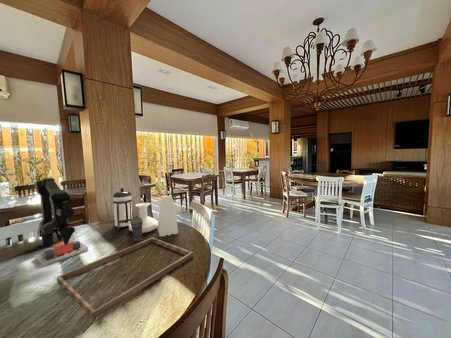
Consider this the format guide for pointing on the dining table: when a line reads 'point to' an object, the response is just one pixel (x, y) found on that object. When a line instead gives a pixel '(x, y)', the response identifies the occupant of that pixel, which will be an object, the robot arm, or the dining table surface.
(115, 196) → the coffee press
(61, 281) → the serving tray rim
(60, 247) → the cap
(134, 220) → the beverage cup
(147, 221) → the candle holder
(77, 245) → the block
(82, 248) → the panel
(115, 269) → the dining table surface
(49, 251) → the block
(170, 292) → the dining table surface
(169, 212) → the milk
